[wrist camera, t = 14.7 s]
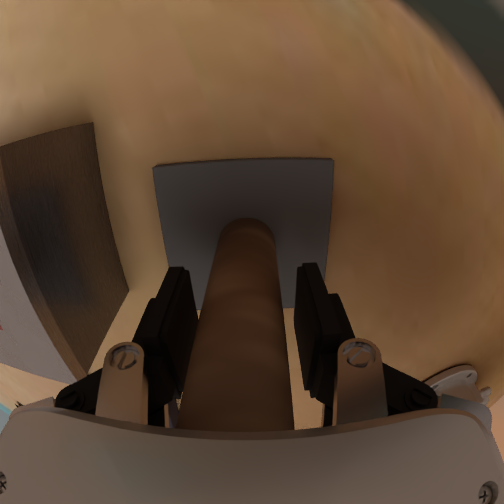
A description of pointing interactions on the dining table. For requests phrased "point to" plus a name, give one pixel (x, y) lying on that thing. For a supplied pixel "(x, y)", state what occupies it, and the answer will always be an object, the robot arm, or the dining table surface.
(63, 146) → the guard box
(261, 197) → the rest pad
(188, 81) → the dining table surface
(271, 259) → the brown cylinder
